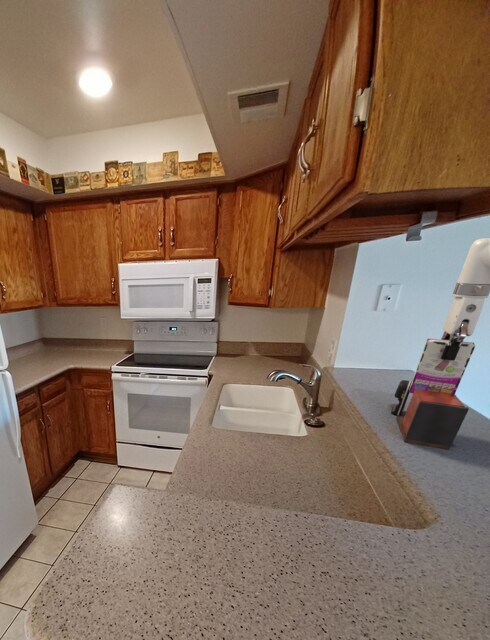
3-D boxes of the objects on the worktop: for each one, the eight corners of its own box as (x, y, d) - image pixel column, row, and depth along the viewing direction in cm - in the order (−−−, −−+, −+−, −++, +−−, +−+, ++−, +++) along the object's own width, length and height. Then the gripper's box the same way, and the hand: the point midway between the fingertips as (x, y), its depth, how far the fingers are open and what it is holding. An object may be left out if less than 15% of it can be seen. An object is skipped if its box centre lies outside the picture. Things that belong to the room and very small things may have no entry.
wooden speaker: (434, 424, 108) (450, 387, 102) (449, 450, 94) (469, 408, 88) (396, 418, 112) (409, 382, 106) (404, 442, 98) (420, 402, 92)
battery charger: (390, 407, 120) (400, 377, 115) (402, 410, 118) (413, 380, 113) (387, 414, 116) (398, 383, 110) (400, 416, 114) (412, 385, 108)
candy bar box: (451, 395, 102) (475, 342, 94) (452, 400, 98) (477, 345, 90) (408, 388, 107) (427, 337, 99) (407, 392, 104) (427, 340, 96)
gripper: (502, 294, 80) (469, 366, 89) (478, 288, 94) (452, 351, 102) (463, 293, 83) (435, 363, 92) (446, 288, 97) (423, 349, 105)
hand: (444, 356), depth 97 cm, fingers closed on candy bar box, 5 cm apart
